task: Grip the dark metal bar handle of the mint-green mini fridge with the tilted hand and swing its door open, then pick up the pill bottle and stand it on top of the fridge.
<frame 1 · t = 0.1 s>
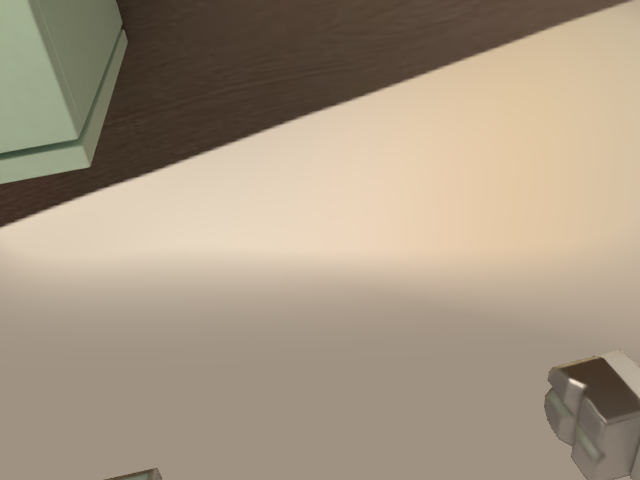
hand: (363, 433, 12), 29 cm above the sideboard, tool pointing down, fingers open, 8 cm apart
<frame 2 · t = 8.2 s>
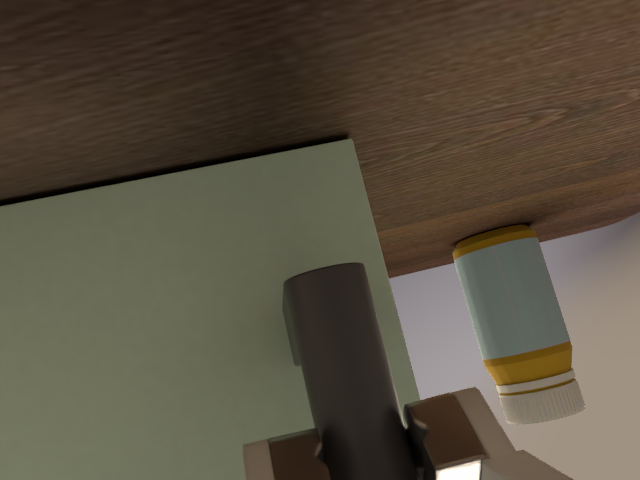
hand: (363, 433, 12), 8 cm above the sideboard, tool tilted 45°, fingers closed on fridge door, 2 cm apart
bottle: (490, 233, 49), on the sideboard
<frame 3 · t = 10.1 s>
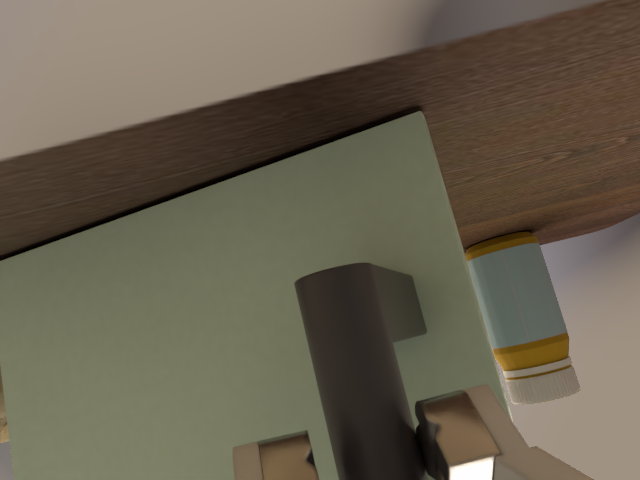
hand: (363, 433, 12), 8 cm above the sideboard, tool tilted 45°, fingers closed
fridge door: (181, 474, 16), point 9 cm above the sideboard, hinge at 24.9°, touching gripper
bottle: (497, 239, 56), on the sideboard
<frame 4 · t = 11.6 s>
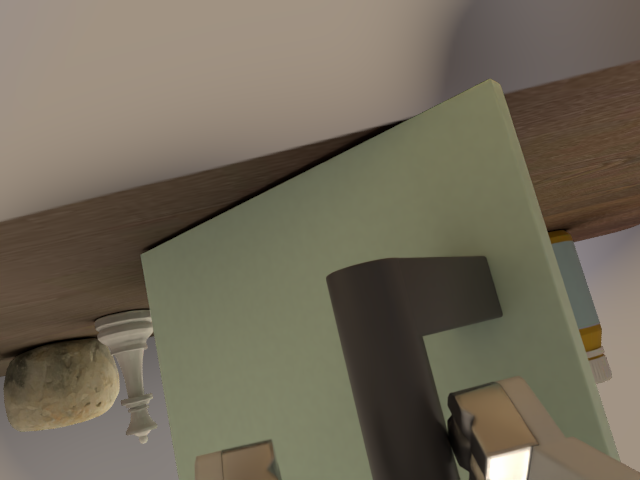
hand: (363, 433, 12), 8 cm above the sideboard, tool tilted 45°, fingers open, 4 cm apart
fridge door: (274, 443, 18), point 9 cm above the sideboard, hinge at 44.7°, touching gripper
stone: (57, 344, 55), on the sideboard
bottle: (533, 237, 60), on the sideboard
chess piece: (123, 313, 46), on the sideboard
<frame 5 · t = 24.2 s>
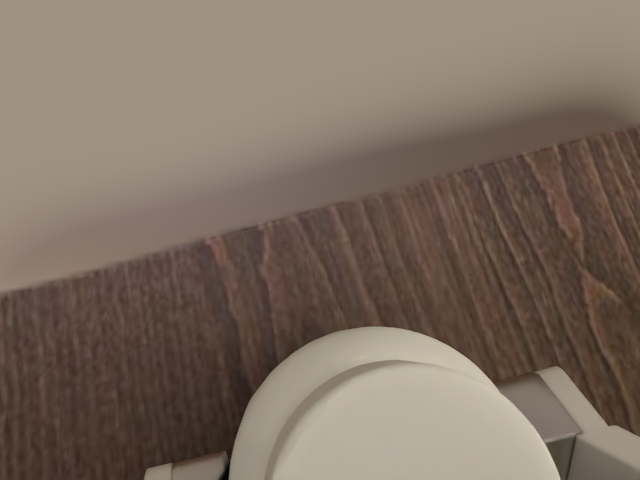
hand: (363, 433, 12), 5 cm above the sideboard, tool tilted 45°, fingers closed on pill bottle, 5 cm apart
pill bottle: (340, 435, 17), on the sideboard, touching gripper
when the fingers open (23 cm above the sideboard, at t = 34.2 s): pill bottle stays where it is, resting on mini fridge.
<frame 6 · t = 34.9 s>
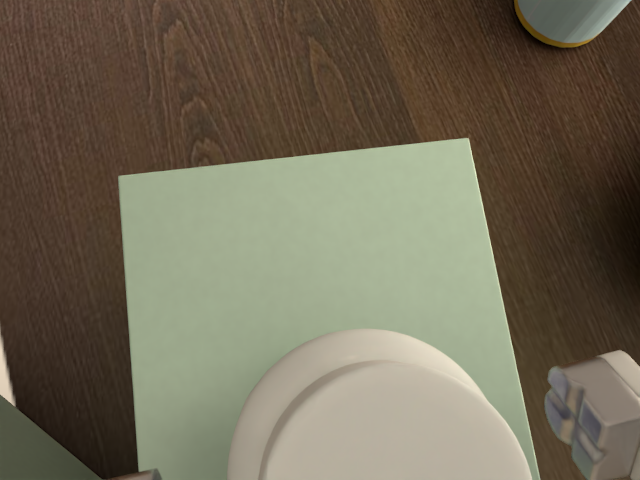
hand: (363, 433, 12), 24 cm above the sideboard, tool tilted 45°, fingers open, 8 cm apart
pill bottle: (334, 432, 18), point 18 cm above the sideboard, touching mini fridge
bottle: (555, 11, 43), on the sideboard
mini fridge: (308, 400, 35), on the sideboard
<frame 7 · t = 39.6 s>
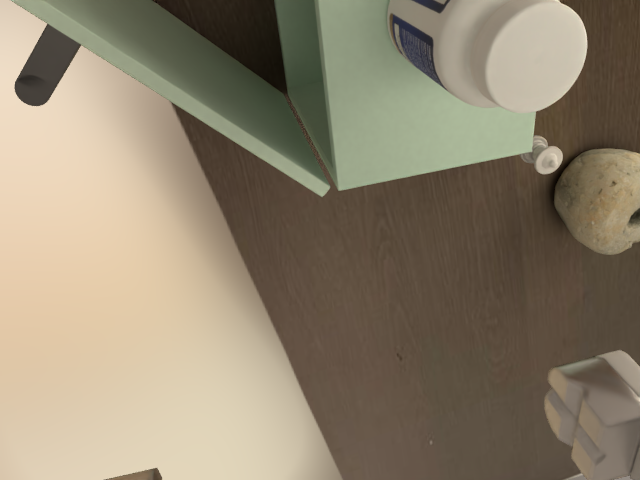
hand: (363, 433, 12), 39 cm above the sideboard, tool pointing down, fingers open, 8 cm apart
fridge door: (163, 98, 37), point 9 cm above the sideboard, hinge at 44.7°
pill bottle: (434, 10, 29), point 18 cm above the sideboard, touching mini fridge
stone: (589, 183, 60), on the sideboard
chess piece: (495, 121, 53), on the sideboard
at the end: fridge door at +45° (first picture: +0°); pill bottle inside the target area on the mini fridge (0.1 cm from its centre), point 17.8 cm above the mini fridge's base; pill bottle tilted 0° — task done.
